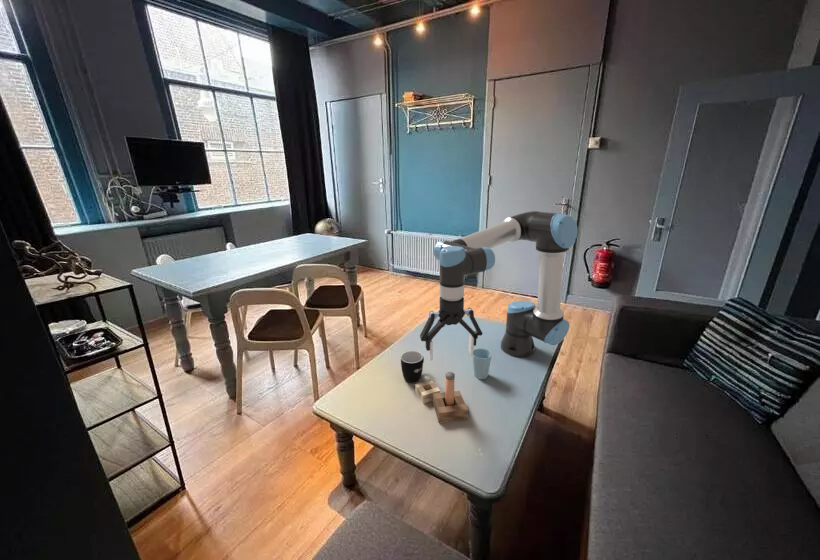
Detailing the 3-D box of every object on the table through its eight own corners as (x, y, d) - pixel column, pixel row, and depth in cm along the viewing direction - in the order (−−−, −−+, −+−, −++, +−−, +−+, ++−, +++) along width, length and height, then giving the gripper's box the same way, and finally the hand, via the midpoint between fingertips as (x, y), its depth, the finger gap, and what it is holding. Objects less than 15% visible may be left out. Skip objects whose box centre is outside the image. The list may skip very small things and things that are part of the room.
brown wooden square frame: (459, 399, 120) (459, 390, 119) (467, 419, 111) (467, 409, 110) (432, 402, 119) (432, 393, 118) (438, 422, 110) (438, 413, 108)
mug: (414, 387, 127) (413, 365, 124) (396, 379, 133) (396, 358, 129) (431, 373, 136) (431, 352, 133) (414, 366, 141) (414, 345, 138)
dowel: (452, 407, 117) (453, 371, 112) (454, 413, 114) (455, 376, 109) (444, 408, 116) (444, 372, 111) (446, 414, 113) (446, 377, 108)
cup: (469, 369, 138) (470, 348, 134) (487, 369, 138) (489, 348, 134) (473, 381, 131) (474, 358, 127) (492, 380, 131) (493, 358, 127)
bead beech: (431, 387, 127) (431, 379, 126) (440, 398, 121) (440, 390, 120) (415, 392, 125) (415, 384, 124) (423, 403, 119) (423, 395, 118)
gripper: (485, 289, 106) (483, 346, 113) (410, 295, 103) (412, 353, 110) (494, 297, 99) (491, 358, 106) (413, 304, 96) (415, 366, 103)
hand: (450, 356), depth 108 cm, fingers open, 13 cm apart
